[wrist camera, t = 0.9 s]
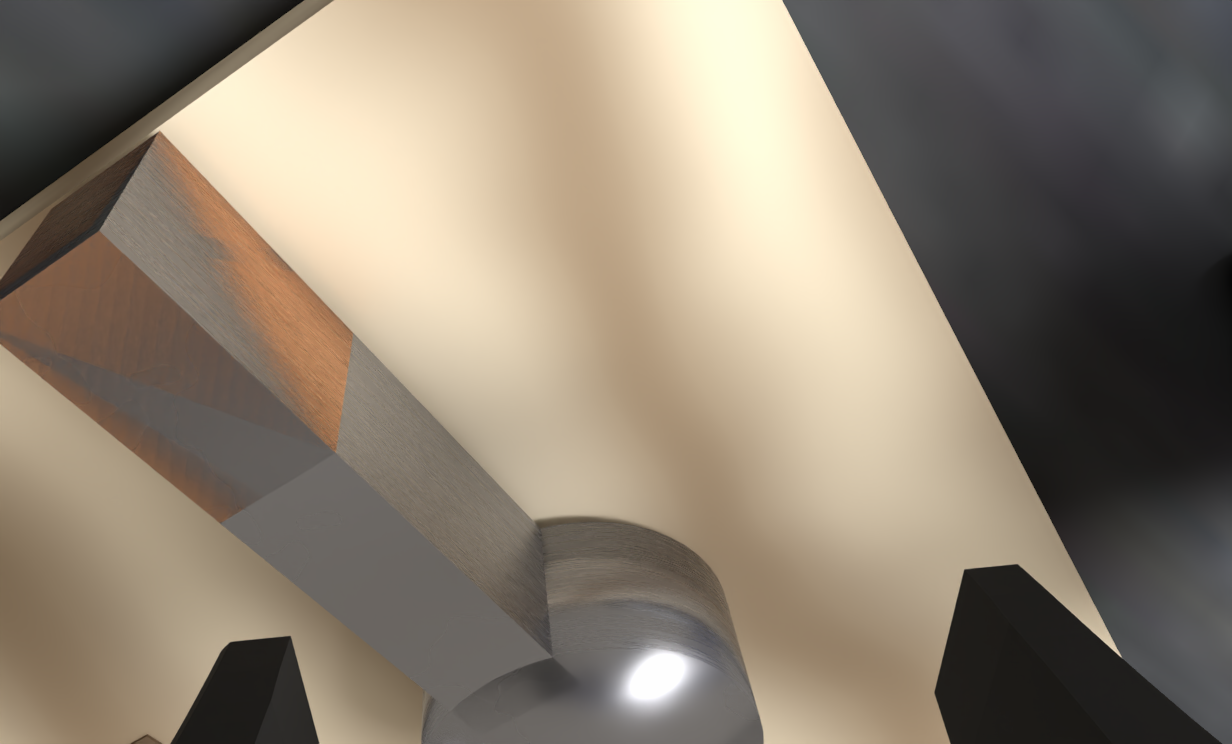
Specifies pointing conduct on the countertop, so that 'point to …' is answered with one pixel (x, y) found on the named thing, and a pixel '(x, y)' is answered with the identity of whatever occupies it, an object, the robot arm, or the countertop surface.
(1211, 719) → the countertop surface
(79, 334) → the lever
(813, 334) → the lock board
